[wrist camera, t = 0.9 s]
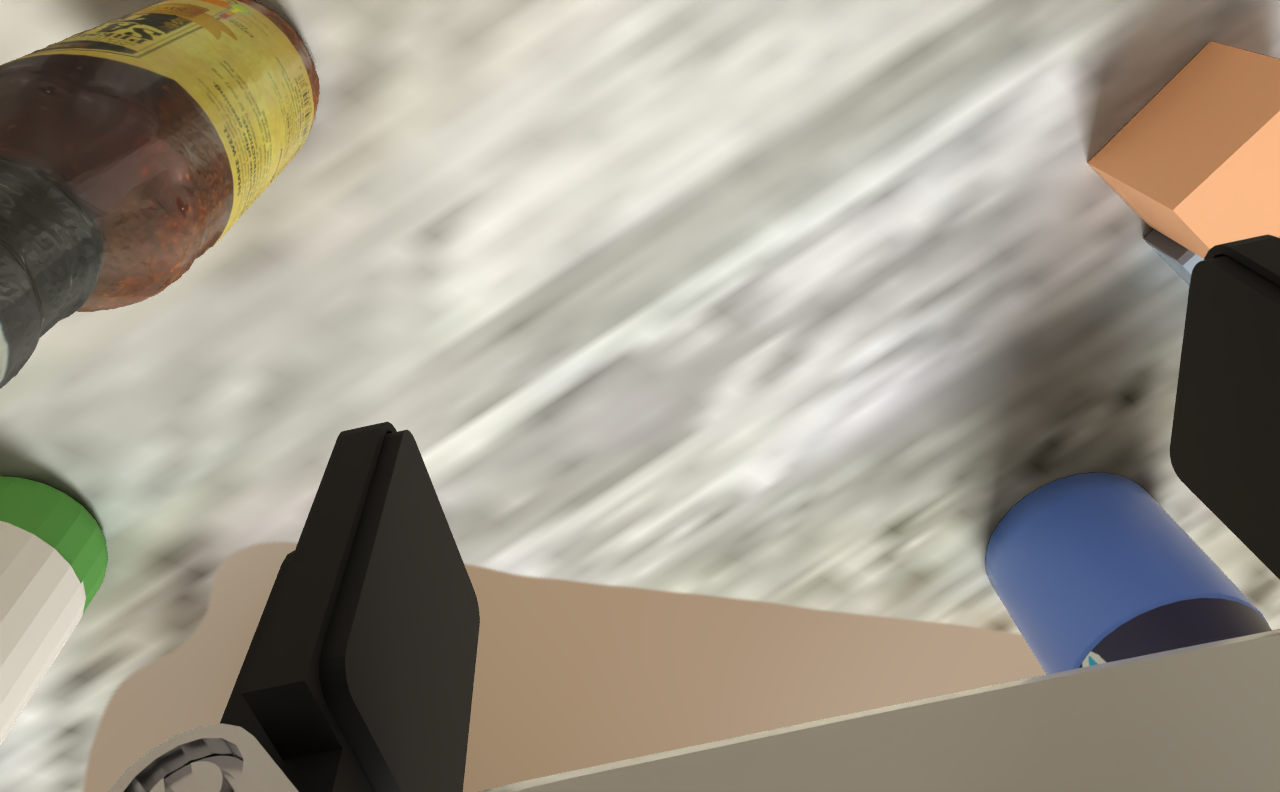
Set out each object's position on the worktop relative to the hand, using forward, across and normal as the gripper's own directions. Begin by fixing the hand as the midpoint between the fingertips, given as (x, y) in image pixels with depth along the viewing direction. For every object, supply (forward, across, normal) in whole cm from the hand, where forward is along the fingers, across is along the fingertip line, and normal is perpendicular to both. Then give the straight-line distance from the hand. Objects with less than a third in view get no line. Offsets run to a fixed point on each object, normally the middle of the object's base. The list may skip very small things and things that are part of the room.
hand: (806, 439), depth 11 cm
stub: (+27, -21, +8) cm, 35 cm away
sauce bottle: (+27, +15, -2) cm, 31 cm away
